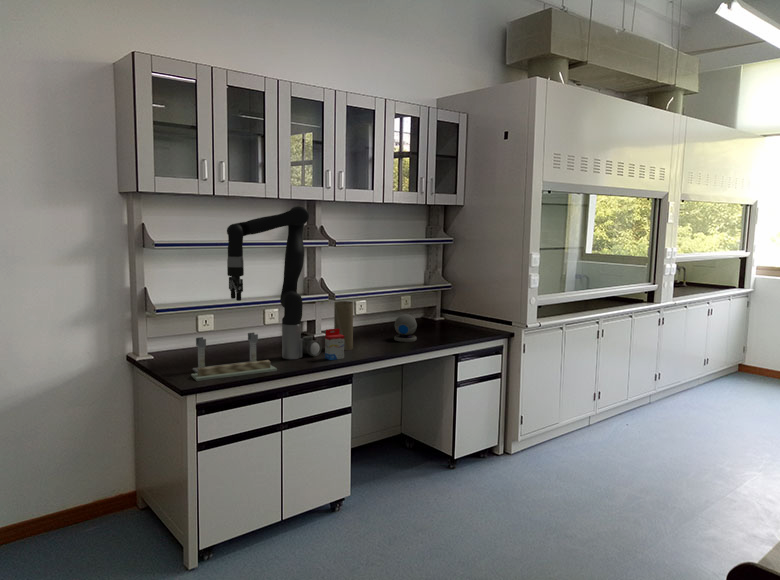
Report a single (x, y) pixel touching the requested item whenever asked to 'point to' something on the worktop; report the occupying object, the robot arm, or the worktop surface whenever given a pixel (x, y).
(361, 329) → the worktop surface
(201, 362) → the hook stand
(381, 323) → the worktop surface
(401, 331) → the webcam
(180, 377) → the worktop surface
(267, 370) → the mat
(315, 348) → the pipe fitting
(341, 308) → the tube
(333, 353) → the ink box
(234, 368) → the rail
